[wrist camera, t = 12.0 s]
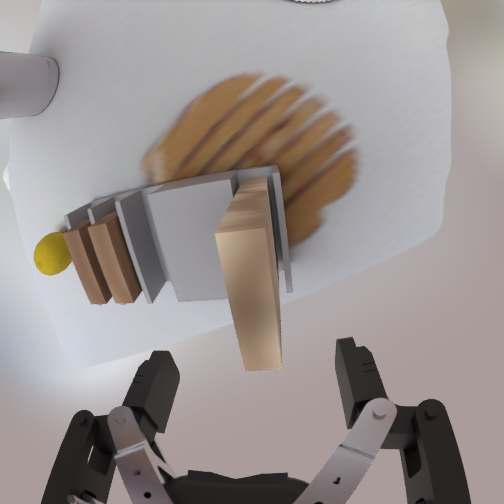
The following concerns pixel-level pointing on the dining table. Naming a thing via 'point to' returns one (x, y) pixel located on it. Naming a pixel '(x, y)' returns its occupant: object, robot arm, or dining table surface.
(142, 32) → the dining table surface
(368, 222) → the dining table surface
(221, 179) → the rack
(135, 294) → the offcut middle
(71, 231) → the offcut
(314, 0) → the plastic lid
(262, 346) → the wooden block
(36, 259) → the lemon
